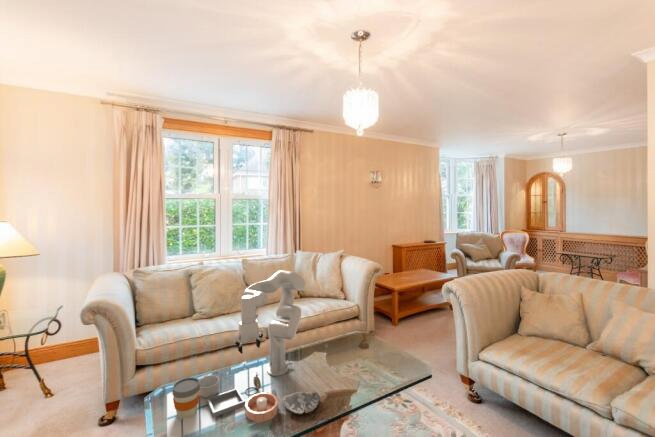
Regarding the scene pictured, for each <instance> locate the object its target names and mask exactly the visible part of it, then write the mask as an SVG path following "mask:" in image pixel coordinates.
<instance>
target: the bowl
mask: <svg viewBox="0 0 655 437" xmlns="http://www.w3.org/2000/svg"><path fill="white" fill-rule="evenodd" d="M260 397H265V398H266V399H267V410H266V411H264V412H257V399H258V398H260ZM278 409H279V399H278V397H277V396H276V394H273V393H270V392H257V393H256V394H254V395H250V396H249V397H248V399H246V400H245V406H244V414H245V416H246V417H247V419H248V420H250V421H253V422H254V423H266V422H267V421H271V420H273V418H275V416H276V415H277V414H278V412H277V411H279V410H278Z"/></svg>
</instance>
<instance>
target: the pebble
mask: <svg viewBox="0 0 655 437" xmlns="http://www.w3.org/2000/svg"><path fill="white" fill-rule="evenodd" d="M266 410H267V399H266V398H265V397H260V398H258V399H257V412H264V411H266Z"/></svg>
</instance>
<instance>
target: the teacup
mask: <svg viewBox="0 0 655 437" xmlns="http://www.w3.org/2000/svg"><path fill="white" fill-rule="evenodd" d="M203 376H204V377H202V378H201V379H200V380H199V383H200V389H199V392H200V394H199V396H200V397H202V398H204V399H207V398H209V397H212V396H215V395H218V394H219V393H218V392H219V391H220V378H219V376H217V375H215V374H214V375H213V374H212V375H208V374H204V375H203Z"/></svg>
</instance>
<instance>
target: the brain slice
mask: <svg viewBox="0 0 655 437" xmlns="http://www.w3.org/2000/svg"><path fill="white" fill-rule="evenodd" d="M320 400H321V396H320V395H319V393H318V392H315V391H312V392H311V391H310V392H308V391H302V390H301V391H295V392H292V393H291V394H288V395H284V396H283V398H282V404H283V406H284V408H285V409H286V410H287V409H288V410H289V411H288V410H287V411H288V412H290V411H291V412H290V413H293V414H295V415H299V414H298V413H304V411H306V412H311V411H312V412H313V411H314V410H315V409H317V407H318V405H319V403H320ZM312 412H311V413H312ZM304 414H305V413H304Z"/></svg>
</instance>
